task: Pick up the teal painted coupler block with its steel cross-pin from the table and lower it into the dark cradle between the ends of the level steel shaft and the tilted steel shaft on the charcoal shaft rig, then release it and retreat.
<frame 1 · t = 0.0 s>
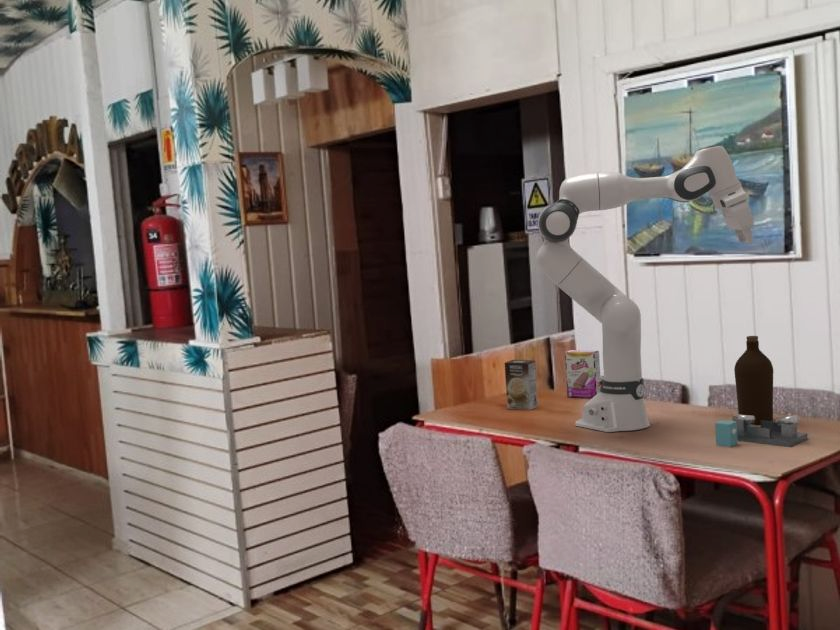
hand: (747, 242, 271), 52 cm above the table, tool tilted 20°, fingers open, 8 cm apart
coffee box: (522, 408, 320), on the table
shaft rig: (766, 438, 253), on the table
candy bar box: (584, 397, 331), on the table
olive oil: (756, 422, 274), on the table
coupler: (726, 444, 250), on the table
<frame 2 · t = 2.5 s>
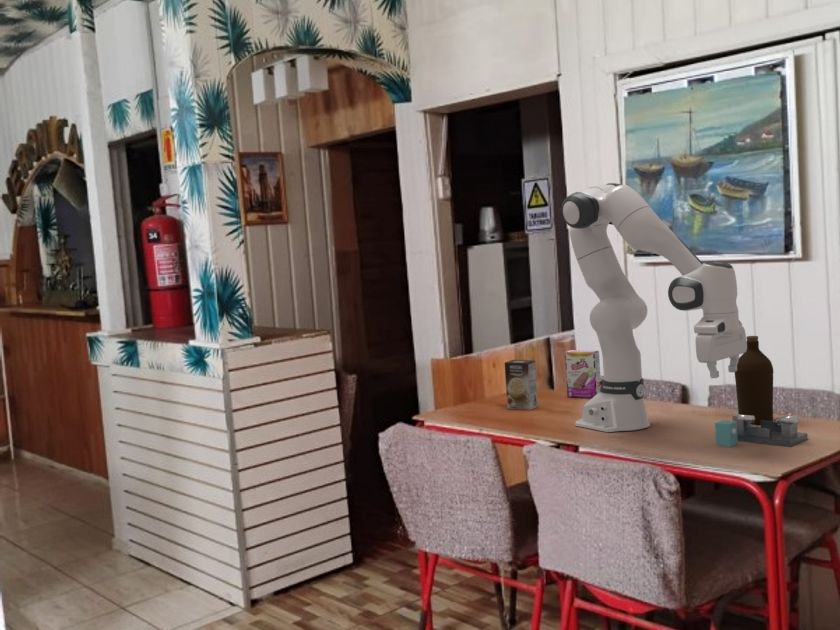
hand: (723, 374, 248), 19 cm above the table, tool pointing down, fingers open, 8 cm apart
nothing on the table moved.
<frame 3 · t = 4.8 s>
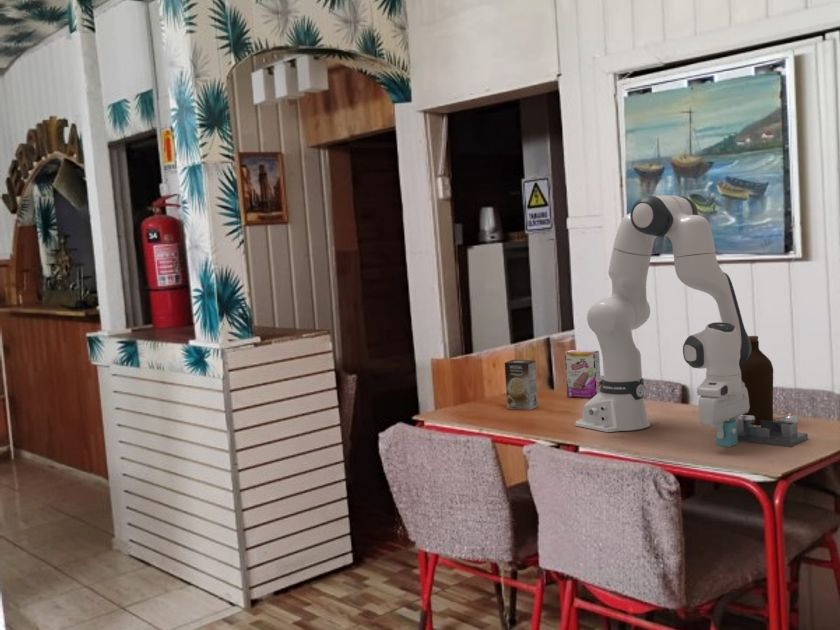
hand: (726, 435, 250), 2 cm above the table, tool pointing down, fingers closed on coupler, 4 cm apart
coupler: (726, 444, 250), on the table, touching gripper
everything else where it was.
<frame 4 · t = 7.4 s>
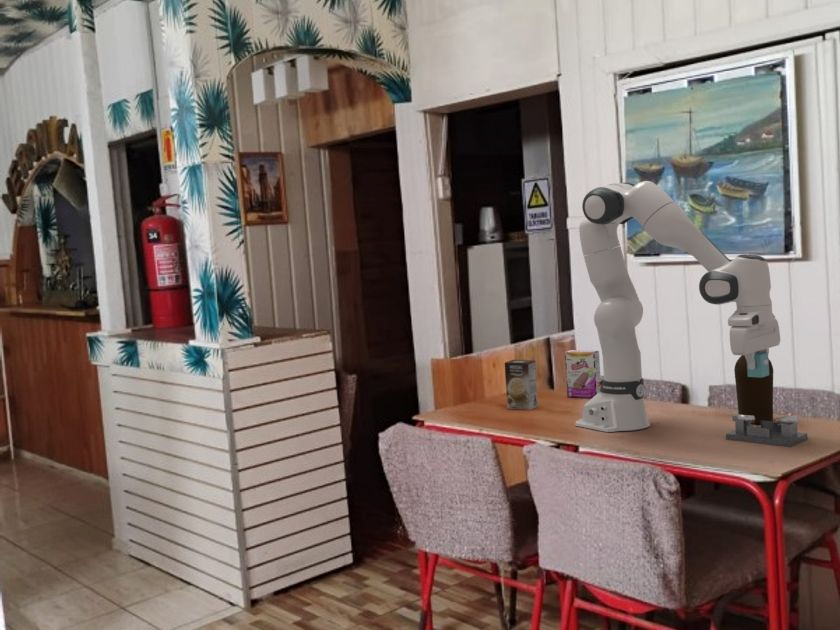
hand: (757, 367, 250), 20 cm above the table, tool pointing down, fingers closed on coupler, 4 cm apart
coupler: (758, 375, 250), point 17 cm above the table, touching gripper
everything else where it was.
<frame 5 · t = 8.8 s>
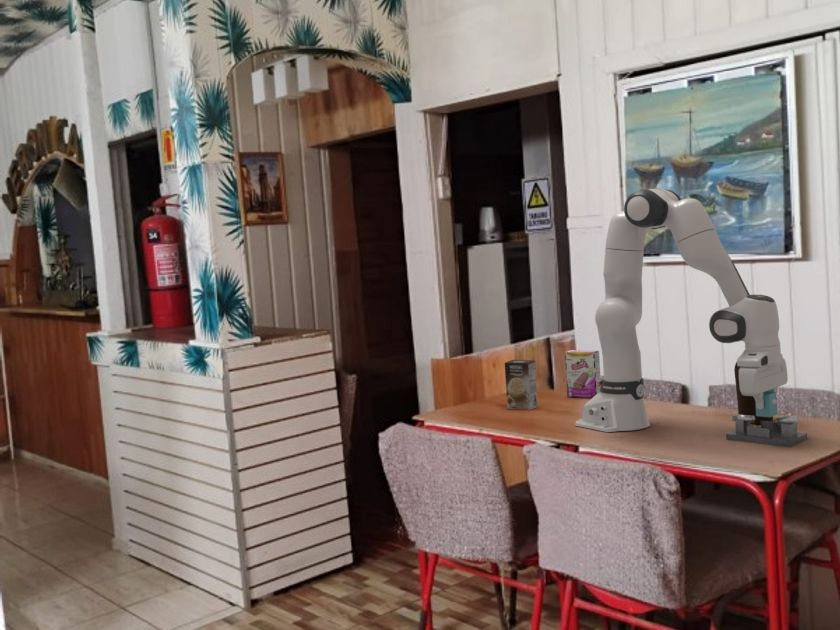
hand: (765, 406, 252), 9 cm above the table, tool pointing down, fingers closed on coupler, 4 cm apart
coupler: (766, 415, 252), point 6 cm above the table, touching gripper
everything else where it was.
when the fingers open (5 cm above the table, at t = 10.0 s): coupler stays where it is, resting on shaft rig.
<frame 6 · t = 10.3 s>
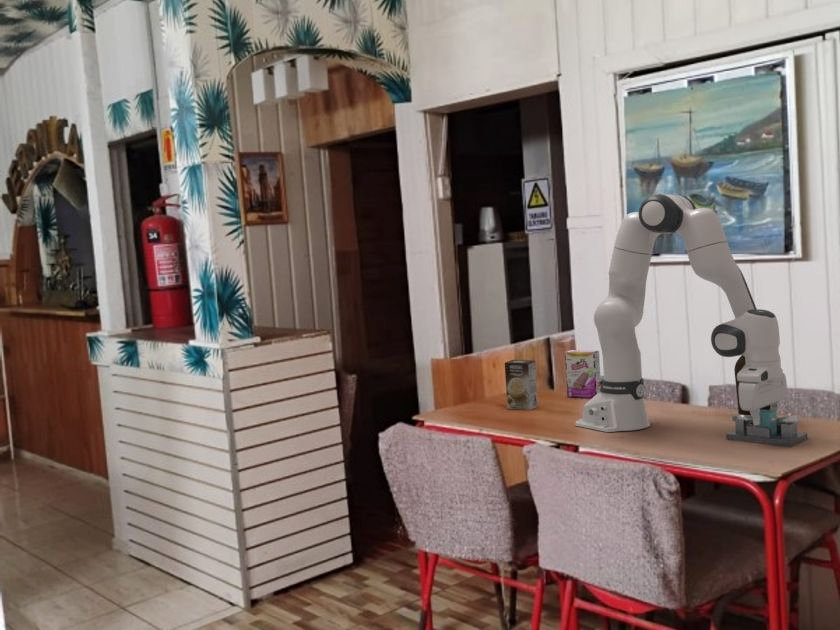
hand: (765, 421, 252), 5 cm above the table, tool pointing down, fingers open, 7 cm apart
coupler: (766, 433, 252), point 1 cm above the table, touching shaft rig
everything else where it was.
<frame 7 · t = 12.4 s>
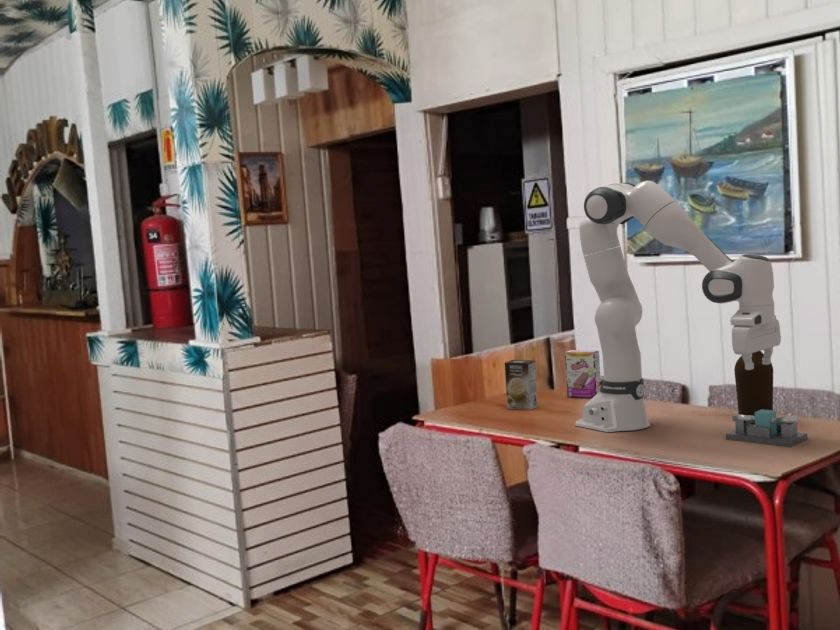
hand: (758, 366, 251), 20 cm above the table, tool pointing down, fingers open, 8 cm apart
nothing on the table moved.
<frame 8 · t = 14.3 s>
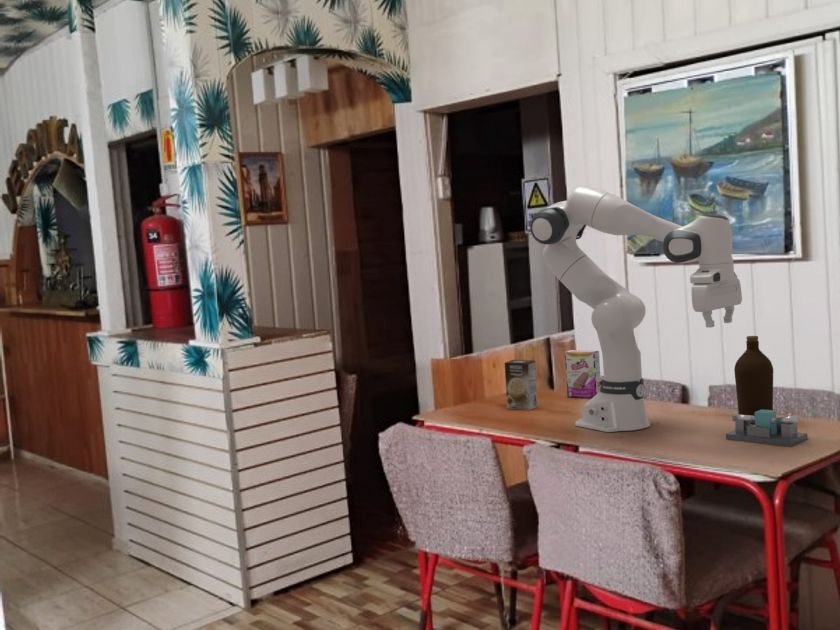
hand: (719, 325, 254), 31 cm above the table, tool pointing down, fingers open, 8 cm apart
nothing on the table moved.
at the end: coupler 0.0 cm off-centre on the shaft rig, point 1.5 cm above the shaft rig's base; coupler tilted 0°; the gripper is holding nothing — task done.
